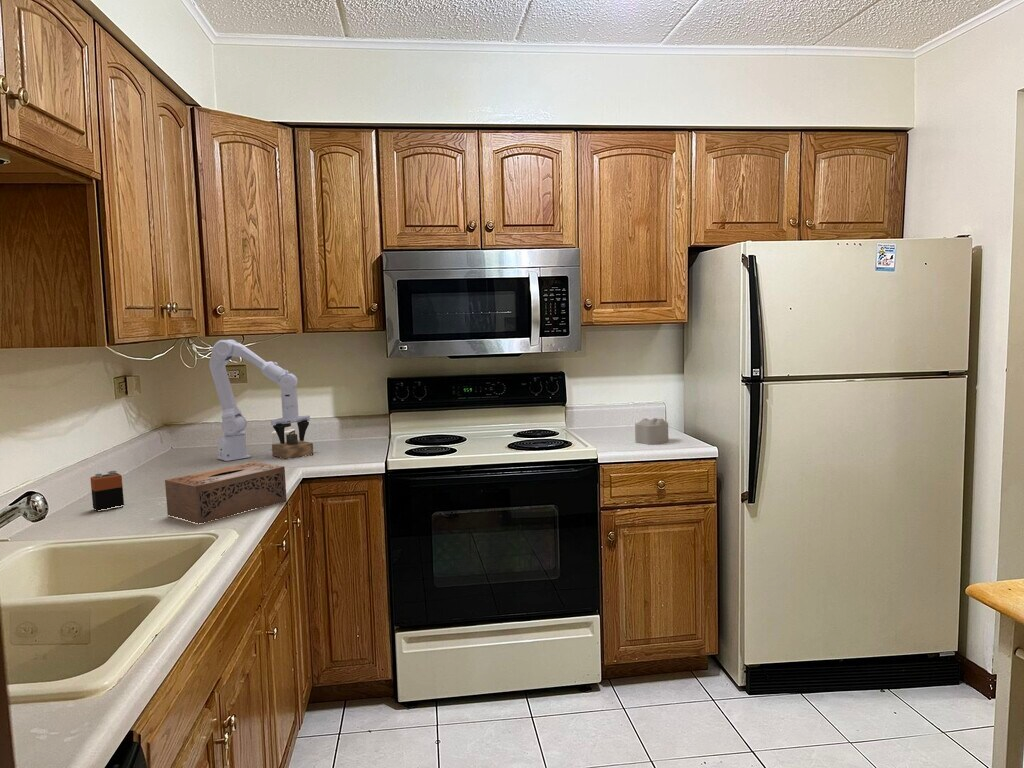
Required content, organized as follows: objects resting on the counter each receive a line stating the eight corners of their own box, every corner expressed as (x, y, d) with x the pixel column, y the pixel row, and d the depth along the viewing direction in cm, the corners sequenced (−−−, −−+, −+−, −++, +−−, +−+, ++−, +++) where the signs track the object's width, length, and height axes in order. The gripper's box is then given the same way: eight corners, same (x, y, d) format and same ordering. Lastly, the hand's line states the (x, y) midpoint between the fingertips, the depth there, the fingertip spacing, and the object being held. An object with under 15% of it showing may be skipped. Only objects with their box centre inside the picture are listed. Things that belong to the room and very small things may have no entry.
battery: (124, 507, 193) (121, 471, 192) (96, 512, 188) (93, 475, 187) (120, 504, 196) (117, 469, 195) (92, 509, 191) (89, 473, 190)
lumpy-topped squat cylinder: (631, 442, 265) (631, 419, 265) (654, 438, 273) (653, 416, 273) (652, 445, 257) (652, 422, 256) (675, 441, 265) (675, 418, 264)
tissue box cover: (198, 526, 172) (195, 486, 171) (167, 518, 181) (164, 480, 180) (286, 502, 193) (284, 466, 192) (255, 495, 201) (253, 461, 200)
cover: (285, 459, 254) (284, 438, 253) (272, 455, 262) (271, 435, 261) (313, 454, 262) (312, 434, 261) (300, 451, 270) (298, 431, 269)
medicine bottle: (290, 449, 275) (288, 419, 274) (272, 450, 275) (270, 419, 274) (296, 446, 282) (294, 416, 281) (278, 446, 282) (276, 417, 281)
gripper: (275, 409, 252) (278, 446, 254) (312, 404, 262) (315, 440, 263) (267, 407, 258) (269, 444, 259) (304, 403, 267) (306, 438, 269)
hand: (292, 442), depth 261 cm, fingers open, 7 cm apart
